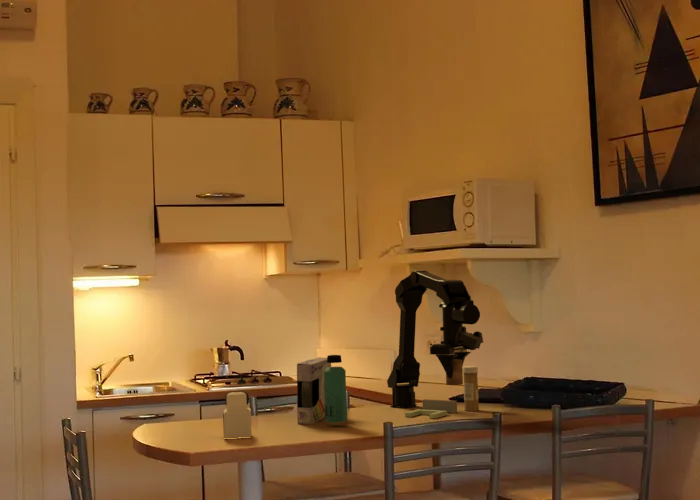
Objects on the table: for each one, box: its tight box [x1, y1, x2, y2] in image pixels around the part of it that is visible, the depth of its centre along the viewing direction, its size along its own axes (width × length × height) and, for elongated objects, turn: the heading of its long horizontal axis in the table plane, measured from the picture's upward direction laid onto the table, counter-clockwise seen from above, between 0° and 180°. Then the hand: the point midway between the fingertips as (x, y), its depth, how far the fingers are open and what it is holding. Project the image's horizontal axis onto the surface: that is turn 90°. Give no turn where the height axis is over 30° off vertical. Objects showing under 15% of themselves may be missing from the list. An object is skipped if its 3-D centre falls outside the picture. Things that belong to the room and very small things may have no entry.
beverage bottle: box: [324, 354, 349, 424], centre depth 270 cm, size 6×7×20 cm
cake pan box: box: [296, 356, 332, 425], centre depth 284 cm, size 19×5×18 cm, turn 162°
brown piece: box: [445, 359, 464, 386], centre depth 280 cm, size 5×5×7 cm
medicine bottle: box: [222, 390, 253, 439], centre depth 256 cm, size 7×7×12 cm
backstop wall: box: [422, 398, 458, 414], centre depth 293 cm, size 11×1×4 cm, turn 57°
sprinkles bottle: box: [462, 365, 480, 412], centre depth 295 cm, size 5×5×14 cm
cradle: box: [404, 408, 448, 419], centre depth 285 cm, size 10×8×1 cm
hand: (454, 377), depth 280 cm, fingers closed on brown piece, 5 cm apart
